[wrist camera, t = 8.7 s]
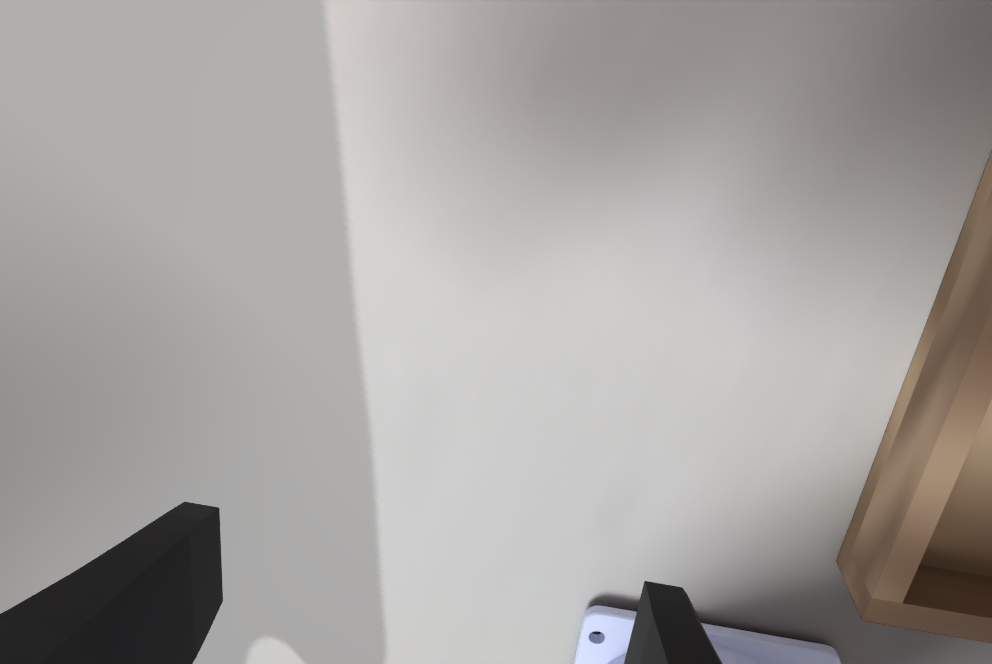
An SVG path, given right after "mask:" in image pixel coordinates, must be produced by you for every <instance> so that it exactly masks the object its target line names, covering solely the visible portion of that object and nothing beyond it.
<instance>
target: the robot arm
mask: <svg viewBox="0 0 992 664" xmlns="http://www.w3.org/2000/svg"><path fill="white" fill-rule="evenodd" d="M220 543H221V542H220V518H219V508H217V507H212V506H206V505H200V504H194V503H188V502H184V503H182V504H180V505H179V506H177V507H175V508H174V509H172V510H170V511H169V512H167V513H166V514H164V515H163V516H161V517H159V518H158V519H156V520H155V521H153V522H152V523H150V524H149V525H147V526H146V527H144V528H143V529H141V530H139V531H138V532H136V533H135V534H133V535H132V536H130V537H129V538H127V539H126V540H124V541H122V542H121V543H119V544H118V545H116V546H115V547H113V548H112V549H110V550H108V551H107V552H105V553H103V554H102V555H100V556H99V557H97V558H96V559H94V560H92V561H91V562H89V563H88V564H86V565H84V566H83V567H81V568H80V569H78V570H76V571H75V572H73V573H71V574H70V575H68V576H66V577H65V578H63V579H61V580H59V581H58V582H56V583H54V584H52V585H51V586H49V587H47V588H46V589H44V590H42V591H40V592H39V593H37V594H35V595H33V596H32V597H30V598H28V599H27V600H25V601H23V602H21V603H19V604H18V605H16V606H14V607H12V608H11V609H9V610H7V611H5V612H3V613H1V614H0V664H192V663H193V661H194V660H195V658H196V656H197V654H198V652H199V650H200V648H201V646H202V644H203V642H204V640H205V638H206V636H207V634H208V632H209V630H210V628H211V625H212V623H213V621H214V619H215V616H216V614H217V612H218V610H219V608H220V606H221V604H222V601H223V596H222V595H223V593H222V568H221V544H220ZM593 631H599V632H601V634H593V633H591V632H593ZM573 664H841V661H840V659H839V656H838V654H837V651H836V650H835V649H834V648H833V647H831V646H828V645H824V644H818V643H812V642H807V641H801V640H795V639H790V638H784V637H778V636H772V635H767V634H761V633H755V632H750V631H744V630H738V629H732V628H727V627H721V626H715V625H710V624H704V623H701V622H700V620H699V618H698V616H697V614H696V612H695V610H694V608H693V606H692V604H691V601H690V599H689V597H688V595H687V594H686V592H685V591H684V589H683V588H682V587H676V586H670V585H664V584H658V583H653V582H647V581H645V582H644V586H643V590H642V594H641V598H640V601H639V605H638V609H637V612H635V611H630V610H624V609H618V608H612V607H607V606H593V607H590V608H589V609H587V610H586V612H585V614H584V616H583V621H582V626H581V630H580V635H579V640H578V644H577V649H576V653H575V658H574V663H573Z"/></svg>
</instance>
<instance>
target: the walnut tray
mask: <svg viewBox="0 0 992 664" xmlns="http://www.w3.org/2000/svg"><path fill="white" fill-rule="evenodd" d="M836 562H837V564H838V567H839V569H840V571H841V573H842V576H843V578H844V580H845V583H846V585H847V587H848V589H849V592H850V594H851V596H852V599H853V601H854V603H855V605H856V608H857V610H858V612H859V614H860V617H861V619H862V621H867V622H873V623H878V624H884V625H890V626H896V627H902V628H907V629H913V630H919V631H925V632H931V633H936V634H942V635H948V636H954V637H960V638H965V639H971V640H977V641H983V642H989V643H992V152H991V155H990V157H989V160H988V163H987V165H986V168H985V171H984V173H983V176H982V178H981V181H980V184H979V186H978V189H977V192H976V194H975V197H974V200H973V202H972V205H971V207H970V210H969V213H968V215H967V218H966V221H965V223H964V226H963V228H962V231H961V234H960V236H959V239H958V242H957V244H956V247H955V250H954V252H953V255H952V257H951V260H950V263H949V265H948V268H947V271H946V273H945V276H944V278H943V281H942V284H941V286H940V289H939V292H938V294H937V297H936V300H935V302H934V305H933V307H932V310H931V313H930V315H929V318H928V321H927V323H926V326H925V328H924V331H923V334H922V336H921V339H920V342H919V344H918V347H917V349H916V352H915V355H914V357H913V360H912V363H911V365H910V368H909V371H908V373H907V376H906V378H905V381H904V384H903V386H902V389H901V392H900V394H899V397H898V399H897V402H896V405H895V407H894V410H893V413H892V415H891V418H890V421H889V423H888V426H887V428H886V431H885V434H884V436H883V439H882V442H881V444H880V447H879V449H878V452H877V455H876V457H875V460H874V463H873V465H872V468H871V471H870V473H869V476H868V478H867V481H866V484H865V486H864V489H863V492H862V494H861V497H860V499H859V502H858V505H857V507H856V510H855V513H854V515H853V518H852V521H851V523H850V526H849V528H848V531H847V534H846V536H845V539H844V542H843V544H842V547H841V549H840V552H839V555H838V557H837V560H836Z"/></svg>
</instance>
